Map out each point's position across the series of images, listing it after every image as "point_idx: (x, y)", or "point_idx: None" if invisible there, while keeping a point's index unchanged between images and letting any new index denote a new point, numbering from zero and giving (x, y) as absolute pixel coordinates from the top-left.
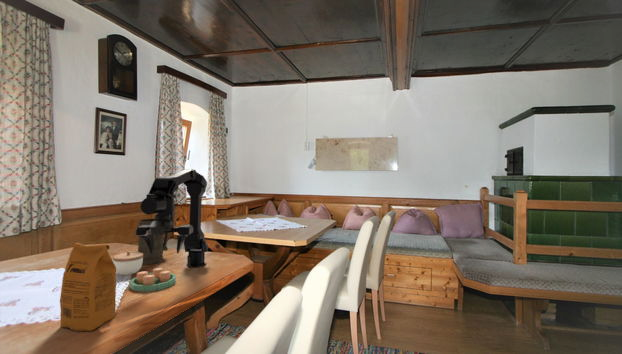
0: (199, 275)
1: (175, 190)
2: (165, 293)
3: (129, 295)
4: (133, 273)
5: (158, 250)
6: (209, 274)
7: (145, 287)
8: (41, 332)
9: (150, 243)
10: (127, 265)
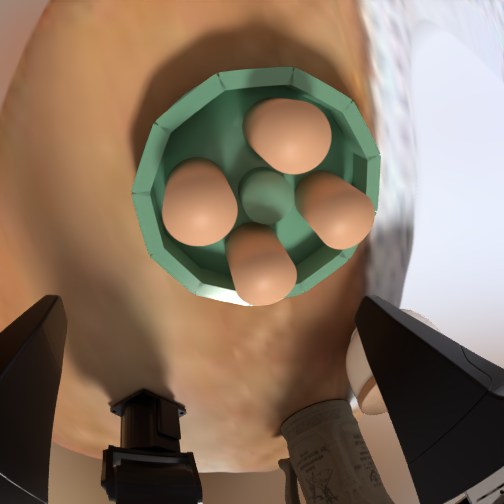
0: (72, 310)
1: None
2: (160, 55)
3: (345, 71)
4: None
5: (304, 450)
6: None
7: (285, 67)
8: None
9: (451, 372)
10: None
